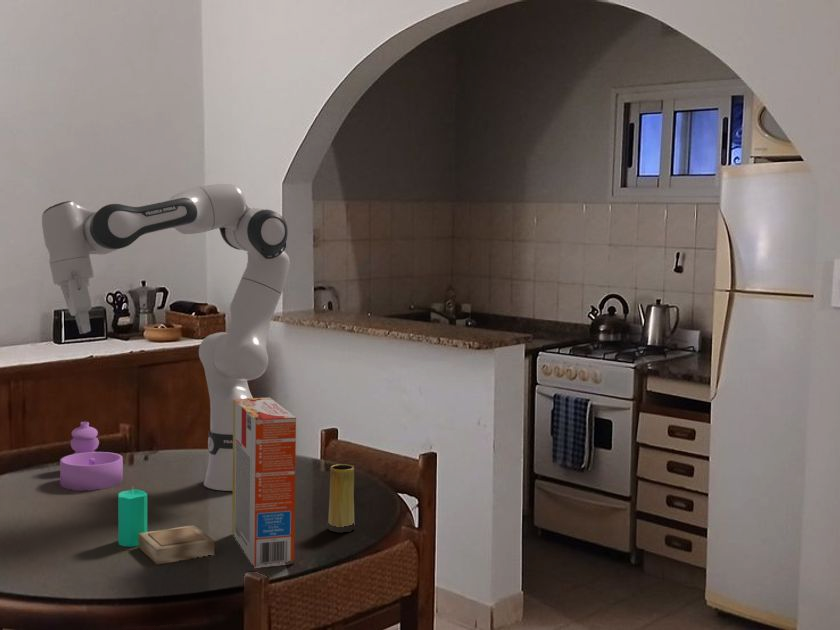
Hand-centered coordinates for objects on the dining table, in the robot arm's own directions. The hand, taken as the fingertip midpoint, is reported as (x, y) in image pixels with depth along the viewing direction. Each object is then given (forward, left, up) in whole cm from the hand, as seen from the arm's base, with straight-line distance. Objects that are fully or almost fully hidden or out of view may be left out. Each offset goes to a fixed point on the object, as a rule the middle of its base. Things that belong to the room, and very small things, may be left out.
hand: (85, 332), depth 231 cm
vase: (-46, +39, -42) cm, 74 cm away
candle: (-3, +26, -42) cm, 50 cm away
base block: (-9, +36, -42) cm, 56 cm away
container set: (-9, -31, -42) cm, 53 cm away
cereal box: (-25, +43, -42) cm, 65 cm away
